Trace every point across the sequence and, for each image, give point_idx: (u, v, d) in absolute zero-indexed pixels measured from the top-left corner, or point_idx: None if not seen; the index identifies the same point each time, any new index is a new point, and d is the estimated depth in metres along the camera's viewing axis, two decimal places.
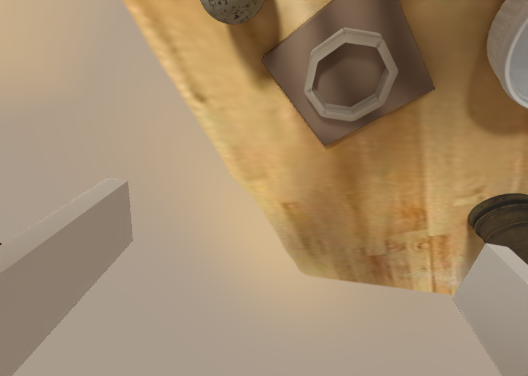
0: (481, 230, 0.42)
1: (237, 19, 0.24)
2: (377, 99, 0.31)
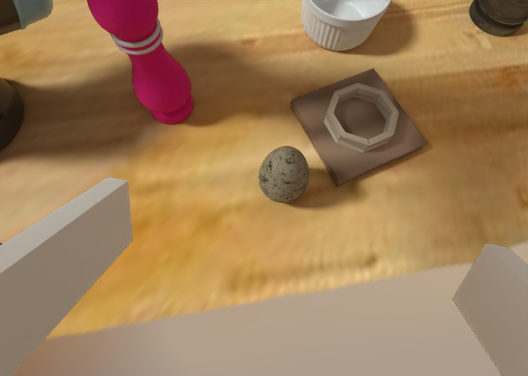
0: (517, 16, 0.44)
1: None
2: (379, 95, 0.39)
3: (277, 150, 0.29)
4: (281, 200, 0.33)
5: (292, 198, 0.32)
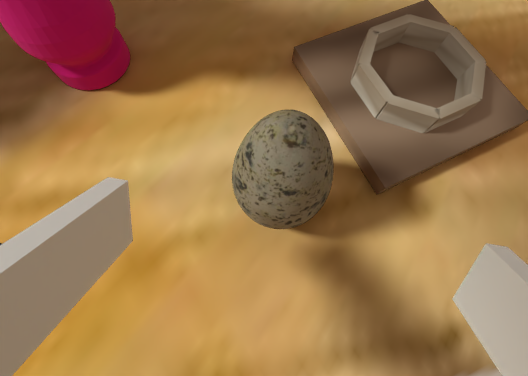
0: None
1: (329, 143, 0.14)
2: (447, 35, 0.22)
3: (265, 118, 0.13)
4: (277, 226, 0.16)
5: (299, 222, 0.16)
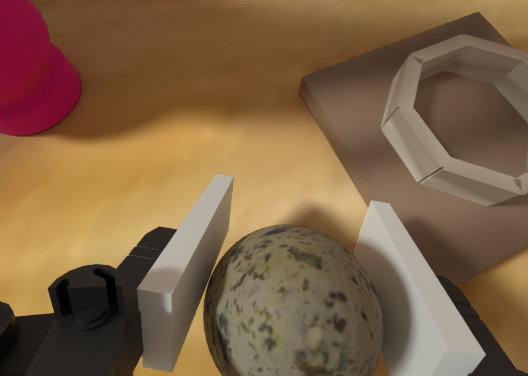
0: None
1: None
2: (518, 64, 0.16)
3: (256, 271, 0.06)
4: None
5: None
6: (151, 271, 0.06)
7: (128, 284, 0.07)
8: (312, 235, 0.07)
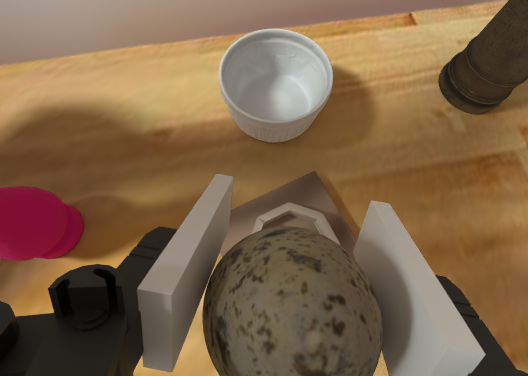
0: (495, 95, 0.35)
1: (376, 297, 0.07)
2: (316, 219, 0.30)
3: (255, 274, 0.06)
4: None
5: None
6: (151, 271, 0.06)
7: (128, 284, 0.07)
8: (311, 237, 0.07)
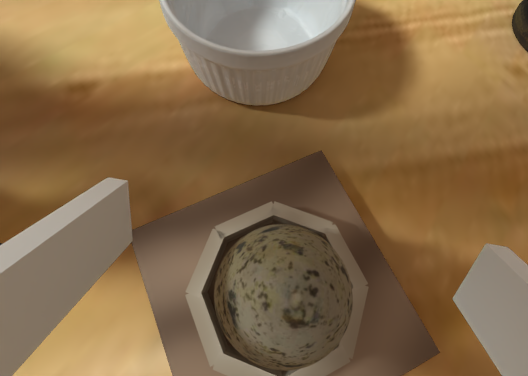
0: None
1: (348, 276, 0.10)
2: (323, 234, 0.16)
3: (255, 258, 0.08)
4: None
5: None
6: None
7: None
8: (298, 231, 0.10)
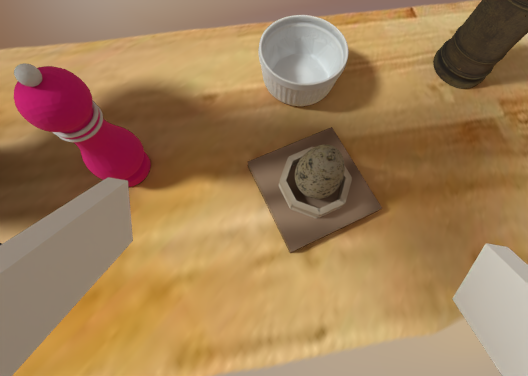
0: (478, 71, 0.44)
1: None
2: None
3: (317, 148, 0.31)
4: (318, 196, 0.34)
5: (328, 194, 0.34)
6: None
7: None
8: None
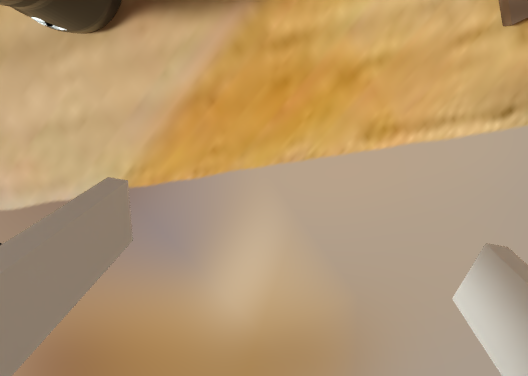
0: None
1: None
2: None
3: None
4: None
5: None
6: None
7: None
8: None
